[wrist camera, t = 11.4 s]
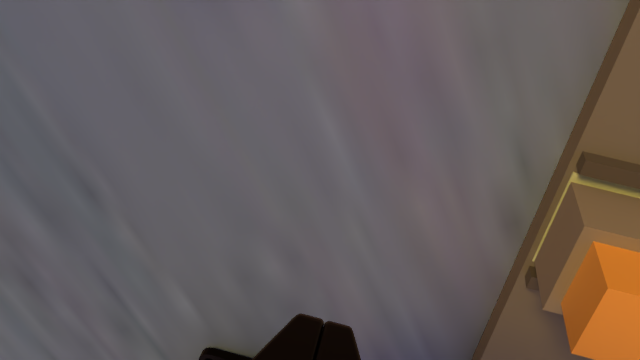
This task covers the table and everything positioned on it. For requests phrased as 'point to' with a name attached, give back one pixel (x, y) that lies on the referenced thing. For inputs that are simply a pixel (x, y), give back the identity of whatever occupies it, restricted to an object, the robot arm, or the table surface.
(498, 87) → the table surface
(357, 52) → the table surface
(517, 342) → the panel
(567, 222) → the toggle
